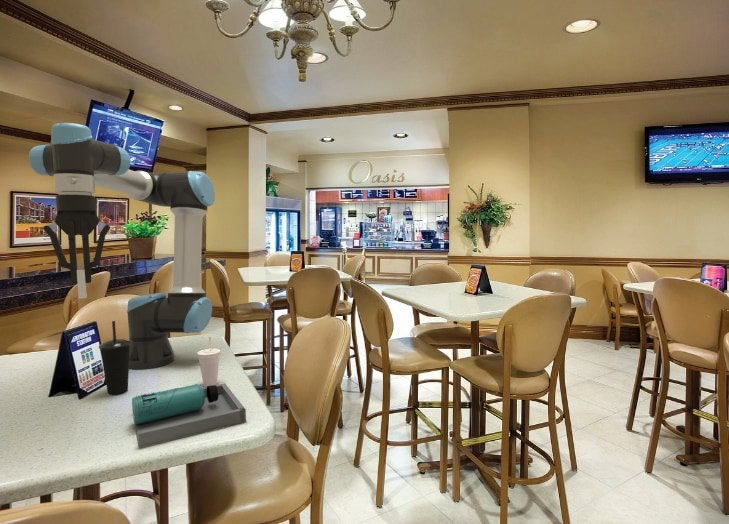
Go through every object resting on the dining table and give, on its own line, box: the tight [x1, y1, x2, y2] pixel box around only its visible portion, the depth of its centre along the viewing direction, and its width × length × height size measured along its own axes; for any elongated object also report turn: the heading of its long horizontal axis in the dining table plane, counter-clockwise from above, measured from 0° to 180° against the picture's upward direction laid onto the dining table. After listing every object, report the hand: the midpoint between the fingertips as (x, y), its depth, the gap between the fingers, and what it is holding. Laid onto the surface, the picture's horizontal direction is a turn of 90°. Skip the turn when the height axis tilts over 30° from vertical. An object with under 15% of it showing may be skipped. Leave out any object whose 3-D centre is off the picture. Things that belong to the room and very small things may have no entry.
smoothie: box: [196, 336, 221, 387], centre depth 123 cm, size 6×6×14 cm
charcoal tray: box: [135, 382, 247, 449], centre depth 102 cm, size 20×22×3 cm
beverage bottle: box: [131, 383, 218, 426], centre depth 101 cm, size 6×7×20 cm
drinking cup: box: [98, 320, 131, 396], centre depth 118 cm, size 8×8×20 cm
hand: (82, 297), depth 99 cm, fingers closed
